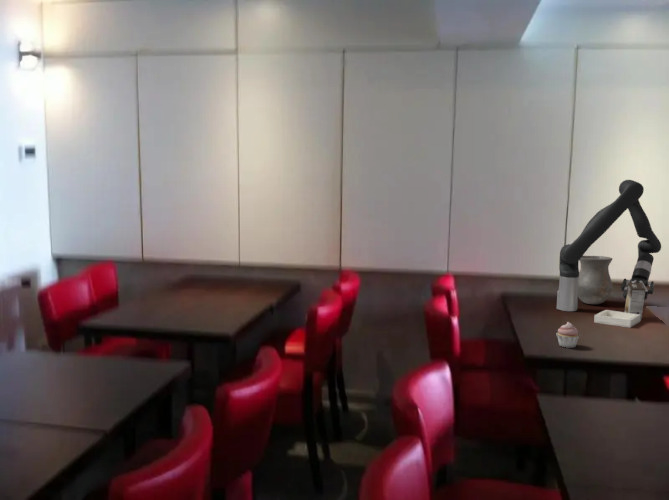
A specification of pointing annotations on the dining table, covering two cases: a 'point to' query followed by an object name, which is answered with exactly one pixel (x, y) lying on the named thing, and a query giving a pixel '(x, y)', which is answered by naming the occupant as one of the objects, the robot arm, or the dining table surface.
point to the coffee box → (635, 298)
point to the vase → (594, 279)
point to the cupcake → (567, 336)
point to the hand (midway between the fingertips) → (634, 298)
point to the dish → (617, 318)
